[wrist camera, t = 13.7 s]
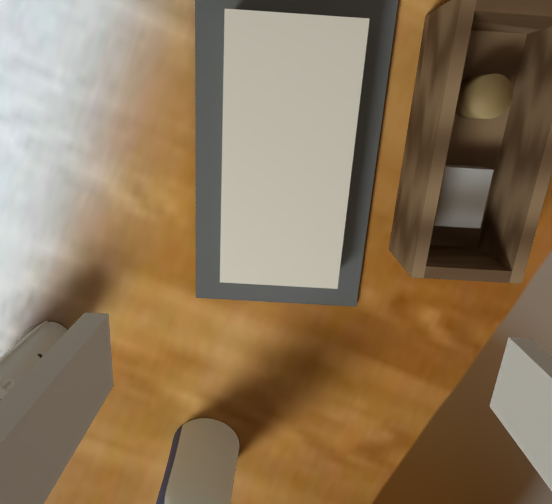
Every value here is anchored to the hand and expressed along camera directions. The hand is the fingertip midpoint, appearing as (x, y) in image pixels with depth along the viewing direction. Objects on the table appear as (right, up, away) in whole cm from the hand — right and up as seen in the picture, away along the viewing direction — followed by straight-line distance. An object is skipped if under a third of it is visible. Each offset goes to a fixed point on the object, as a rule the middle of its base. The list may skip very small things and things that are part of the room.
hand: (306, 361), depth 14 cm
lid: (0, +12, +23) cm, 26 cm away
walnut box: (+15, +13, +23) cm, 30 cm away
